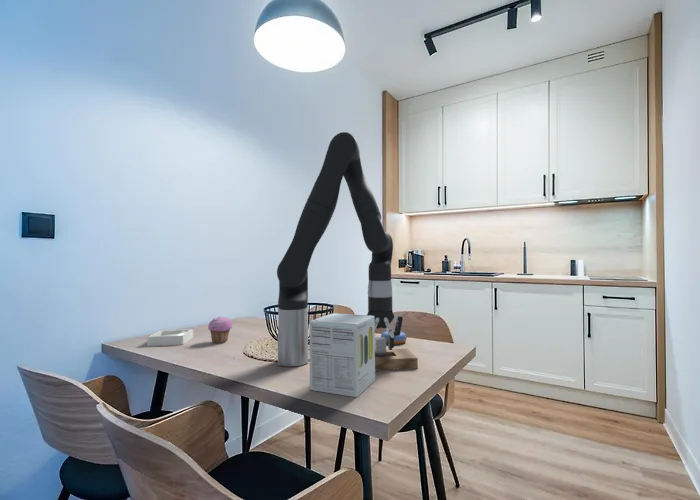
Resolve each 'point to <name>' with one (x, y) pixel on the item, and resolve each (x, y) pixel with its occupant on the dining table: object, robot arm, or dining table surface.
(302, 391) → the dining table surface
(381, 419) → the dining table surface
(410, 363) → the frame
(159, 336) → the tray
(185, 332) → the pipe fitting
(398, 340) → the doughnut
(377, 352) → the grey metal t-block
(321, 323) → the supplement box
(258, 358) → the dining table surface
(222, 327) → the cupcake
